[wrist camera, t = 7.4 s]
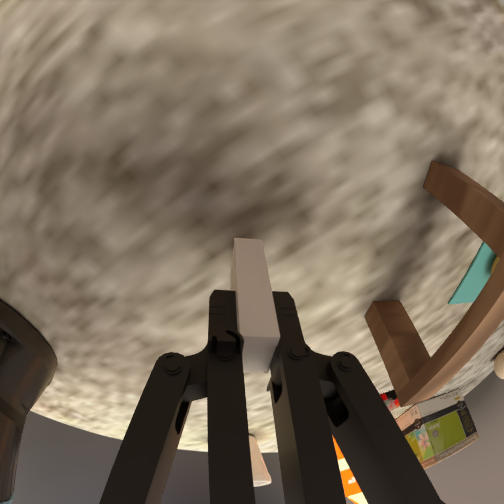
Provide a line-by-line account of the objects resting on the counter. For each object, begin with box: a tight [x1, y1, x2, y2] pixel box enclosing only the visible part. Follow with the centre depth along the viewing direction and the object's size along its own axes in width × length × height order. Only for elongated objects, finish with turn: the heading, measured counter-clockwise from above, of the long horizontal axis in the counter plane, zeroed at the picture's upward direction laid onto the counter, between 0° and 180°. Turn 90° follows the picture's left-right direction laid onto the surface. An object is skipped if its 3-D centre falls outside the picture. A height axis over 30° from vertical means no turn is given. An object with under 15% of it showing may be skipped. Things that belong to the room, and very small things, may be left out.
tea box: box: [395, 389, 479, 469], centre depth 41 cm, size 15×10×15 cm, turn 81°
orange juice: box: [333, 437, 368, 504], centre depth 39 cm, size 8×9×20 cm
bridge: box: [365, 161, 504, 407], centre depth 16 cm, size 3×14×9 cm, turn 173°
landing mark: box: [448, 241, 497, 304], centre depth 21 cm, size 12×12×1 cm
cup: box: [249, 434, 271, 487], centre depth 37 cm, size 10×10×9 cm
